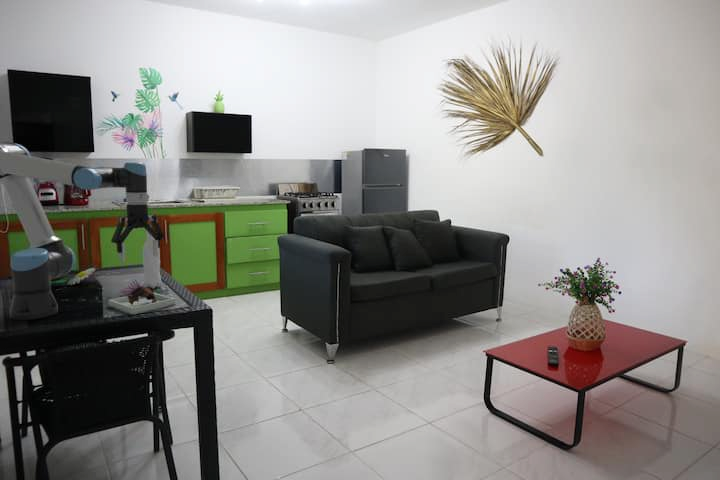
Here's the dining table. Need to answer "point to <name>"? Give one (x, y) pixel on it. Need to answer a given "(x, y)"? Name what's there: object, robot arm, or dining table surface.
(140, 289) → the broken clay pot
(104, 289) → the dining table surface
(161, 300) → the tray
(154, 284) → the water bottle
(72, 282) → the decorative flower
